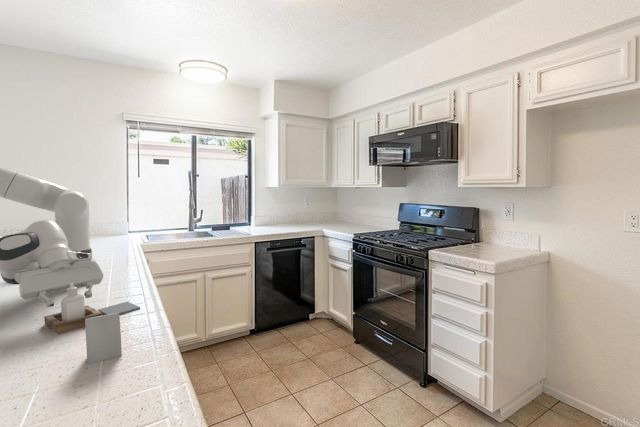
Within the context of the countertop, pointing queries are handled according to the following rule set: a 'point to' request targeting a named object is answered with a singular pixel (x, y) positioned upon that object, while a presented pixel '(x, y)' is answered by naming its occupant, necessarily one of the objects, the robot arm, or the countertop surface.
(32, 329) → the countertop surface
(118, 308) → the coaster
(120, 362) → the countertop surface
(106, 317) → the white rectangular box
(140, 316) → the countertop surface
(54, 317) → the block
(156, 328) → the countertop surface
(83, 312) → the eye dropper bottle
